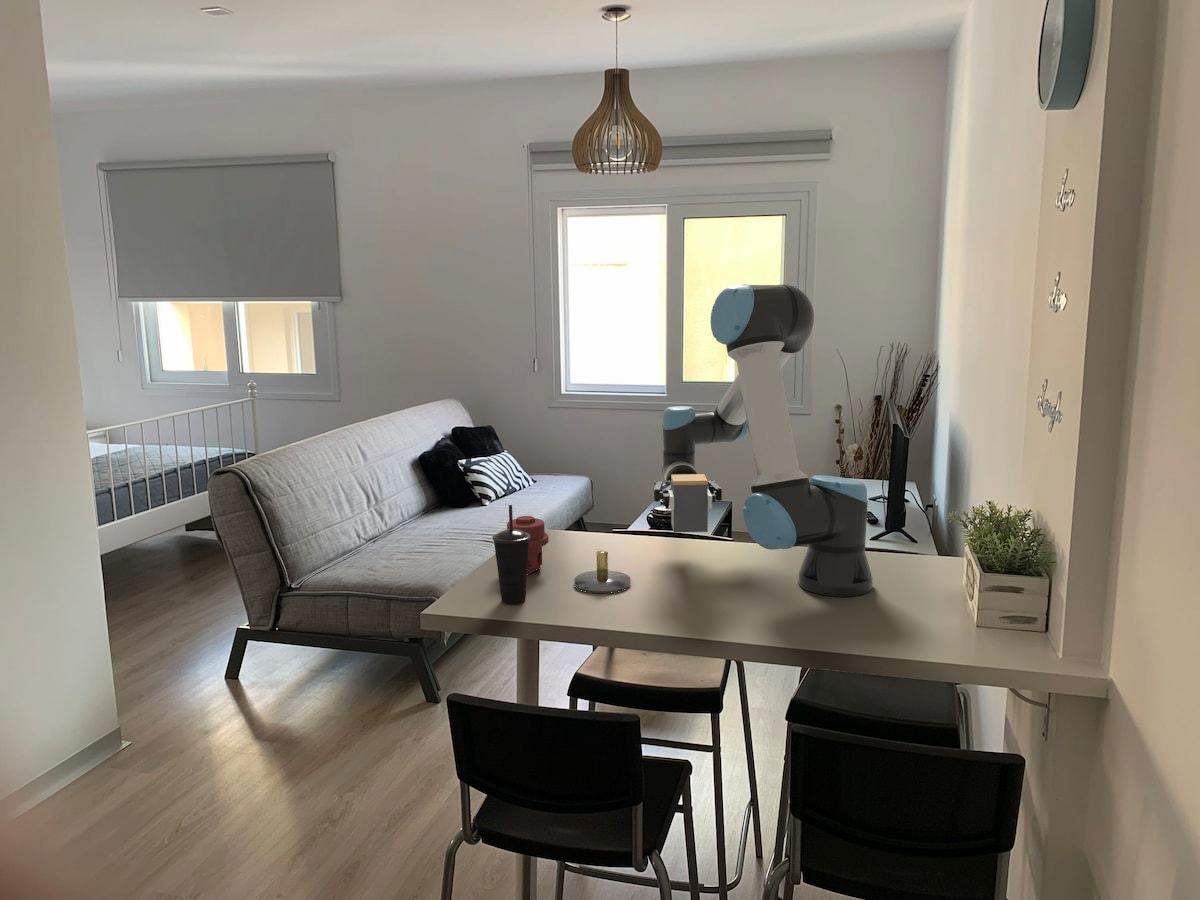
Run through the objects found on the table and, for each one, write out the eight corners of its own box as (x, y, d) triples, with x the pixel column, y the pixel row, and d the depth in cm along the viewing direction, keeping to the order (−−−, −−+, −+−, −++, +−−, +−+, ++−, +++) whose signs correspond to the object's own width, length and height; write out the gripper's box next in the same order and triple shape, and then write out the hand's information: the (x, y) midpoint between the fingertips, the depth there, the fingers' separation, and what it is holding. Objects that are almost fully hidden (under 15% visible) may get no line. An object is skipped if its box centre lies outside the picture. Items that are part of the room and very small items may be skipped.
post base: (636, 577, 197) (636, 546, 196) (622, 595, 186) (622, 562, 185) (583, 573, 200) (583, 542, 199) (567, 591, 189) (566, 558, 188)
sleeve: (704, 523, 193) (704, 474, 192) (707, 531, 186) (707, 480, 185) (671, 524, 193) (671, 474, 192) (673, 532, 187) (673, 481, 185)
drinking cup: (499, 593, 188) (496, 500, 185) (535, 595, 187) (533, 501, 184) (490, 606, 181) (486, 509, 177) (527, 608, 180) (525, 510, 176)
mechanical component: (550, 564, 208) (547, 577, 198) (507, 564, 208) (502, 578, 198) (549, 512, 206) (546, 523, 196) (505, 512, 206) (500, 523, 196)
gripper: (725, 495, 207) (740, 520, 184) (638, 497, 207) (642, 521, 185) (725, 463, 206) (740, 484, 183) (638, 465, 206) (642, 485, 183)
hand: (691, 502), depth 184 cm, fingers closed on sleeve, 7 cm apart
